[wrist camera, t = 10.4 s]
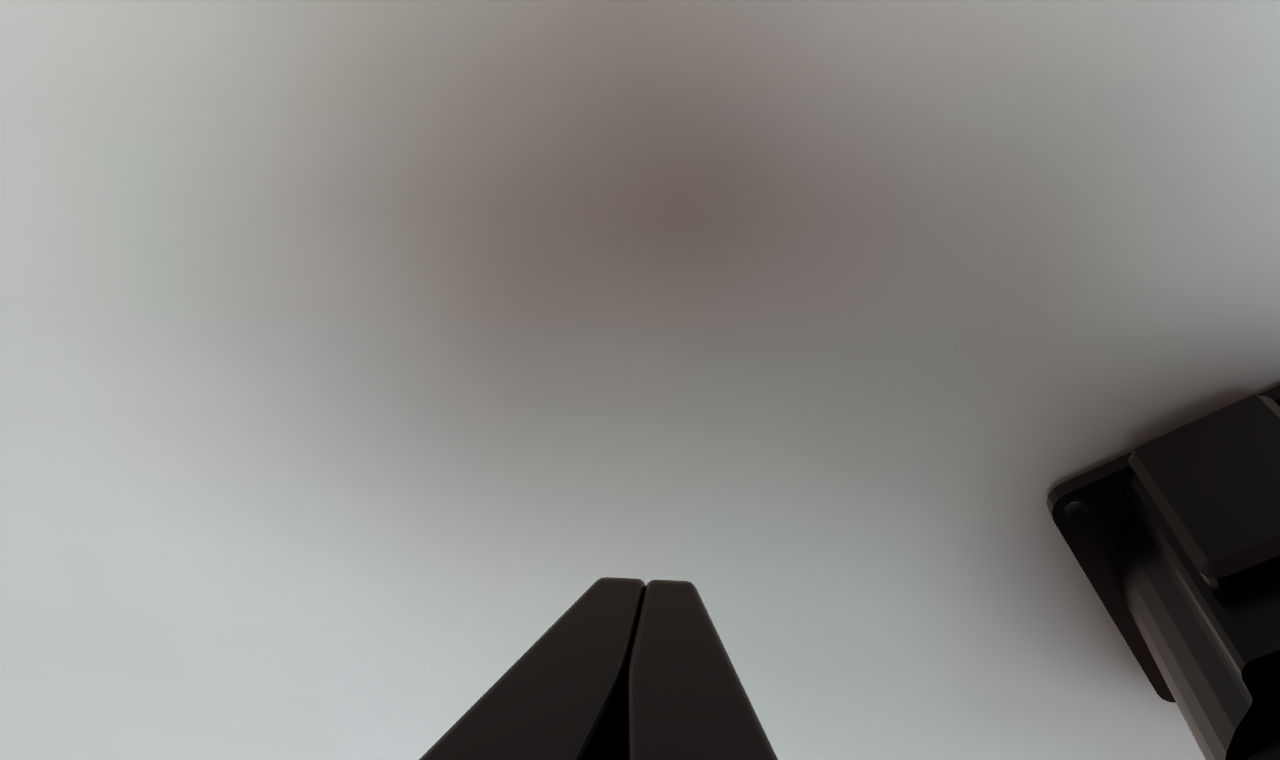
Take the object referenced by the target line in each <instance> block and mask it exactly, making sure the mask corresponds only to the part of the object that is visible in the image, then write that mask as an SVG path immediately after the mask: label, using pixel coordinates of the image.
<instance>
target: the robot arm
mask: <svg viewBox="0 0 1280 760" xmlns="http://www.w3.org/2000/svg"><path fill="white" fill-rule="evenodd" d="M1075 501H1081V502H1083V504H1082V506H1081V507H1079V508H1078V509H1077V510H1073V511H1067V510H1064V509H1065V507H1066V506H1067V505H1068V504H1070V503H1071V502H1075ZM1047 506H1048V509H1049V512H1050V514H1051V516H1052V518H1053V520H1054V522H1055V524H1056V526H1057V527H1058V529H1059V531H1060V532H1061V534H1062V536H1063V537H1064V539H1065V541H1066V542H1067V544H1068V546H1069V547H1070V549H1071V551H1072V552H1073V554H1074V556H1075V557H1076V559H1077V561H1078V562H1079V564H1080V566H1081V567H1082V569H1083V571H1084V572H1085V574H1086V576H1087V577H1088V579H1089V581H1090V582H1091V584H1092V586H1093V587H1094V589H1095V591H1096V592H1097V594H1098V596H1099V597H1100V599H1101V601H1102V602H1103V604H1104V606H1105V607H1106V609H1107V611H1108V612H1109V614H1110V616H1111V617H1112V619H1113V621H1114V622H1115V624H1116V626H1117V627H1118V629H1119V631H1120V632H1121V634H1122V636H1123V637H1124V639H1125V641H1126V642H1127V644H1128V646H1129V647H1130V649H1131V651H1132V652H1133V654H1134V656H1135V657H1136V659H1137V661H1138V662H1139V664H1140V666H1141V667H1142V669H1143V671H1144V672H1145V674H1146V676H1147V677H1148V679H1149V681H1150V682H1151V684H1152V686H1153V687H1154V689H1155V691H1156V692H1157V694H1158V695H1159V696H1160V697H1161V698H1162V699H1164V700H1166V701H1169V702H1176V703H1177V705H1178V707H1179V709H1180V711H1181V713H1182V715H1183V716H1184V718H1185V720H1186V722H1187V724H1188V726H1189V728H1190V730H1191V732H1192V734H1193V736H1194V738H1195V740H1196V742H1197V744H1198V746H1199V747H1200V749H1201V751H1202V753H1203V755H1204V757H1205V759H1206V760H1280V385H1279V386H1277V387H1275V388H1273V389H1270V390H1268V391H1266V392H1264V393H1262V394H1259V395H1253V396H1250V397H1247V398H1245V399H1243V400H1241V401H1238V402H1236V403H1234V404H1232V405H1230V406H1227V407H1225V408H1223V409H1221V410H1219V411H1216V412H1214V413H1212V414H1210V415H1207V416H1205V417H1203V418H1201V419H1199V420H1196V421H1194V422H1192V423H1190V424H1187V425H1185V426H1183V427H1181V428H1179V429H1176V430H1174V431H1172V432H1170V433H1168V434H1165V435H1163V436H1161V437H1159V438H1156V439H1154V440H1152V441H1150V442H1148V443H1145V444H1143V445H1141V446H1139V447H1137V448H1136V449H1135V450H1134V451H1133V452H1131V453H1128V454H1126V455H1124V456H1122V457H1120V458H1117V459H1115V460H1113V461H1111V462H1108V463H1106V464H1104V465H1102V466H1100V467H1097V468H1095V469H1093V470H1091V471H1088V472H1086V473H1084V474H1082V475H1080V476H1077V477H1075V478H1073V479H1071V480H1069V481H1066V482H1064V483H1062V484H1060V485H1059V486H1057V487H1056V488H1054V489H1053V490H1052V492H1051V493H1050V494H1049V496H1048V500H1047ZM419 760H778V759H777V757H776V755H775V753H774V751H773V749H772V747H771V744H770V742H769V740H768V738H767V736H766V734H765V732H764V730H763V728H762V726H761V723H760V721H759V719H758V717H757V715H756V713H755V711H754V709H753V707H752V705H751V703H750V700H749V698H748V696H747V694H746V692H745V690H744V688H743V686H742V684H741V682H740V679H739V677H738V675H737V673H736V671H735V669H734V667H733V665H732V663H731V661H730V658H729V656H728V654H727V652H726V650H725V648H724V646H723V644H722V642H721V640H720V638H719V635H718V633H717V631H716V629H715V627H714V625H713V623H712V621H711V619H710V617H709V614H708V612H707V610H706V608H705V606H704V604H703V602H702V600H701V598H700V596H699V593H698V591H697V589H696V588H695V586H694V585H693V584H692V583H691V582H688V581H671V580H652V581H650V582H649V583H648V584H647V585H645V583H644V582H643V581H642V580H640V579H629V578H609V577H606V578H601V579H599V580H597V581H596V582H595V583H594V584H593V585H592V586H591V587H590V588H589V589H588V590H587V591H586V592H585V593H584V594H583V595H582V596H581V597H580V598H579V599H578V600H577V601H576V602H575V603H574V604H573V605H572V606H571V607H570V608H569V609H568V610H567V611H566V612H565V613H564V614H563V615H562V616H561V617H560V618H559V619H558V620H557V621H556V622H555V623H554V624H553V625H552V626H551V627H550V628H549V629H548V630H547V631H546V632H545V633H544V634H543V636H542V637H541V638H540V639H539V640H538V641H537V642H536V643H535V644H534V645H533V646H532V647H531V648H530V649H529V650H528V651H527V652H526V653H525V654H524V655H523V656H522V657H521V658H520V659H519V660H518V661H517V662H516V663H515V664H514V665H513V666H512V667H511V668H510V669H509V670H508V671H507V672H506V673H505V674H504V675H503V676H502V677H501V678H500V679H499V680H498V681H497V682H496V683H495V684H494V685H493V686H492V687H491V688H490V689H489V690H488V691H487V692H486V693H485V694H484V695H483V696H482V697H481V698H480V699H479V700H478V701H477V702H476V703H475V704H474V705H473V706H472V707H471V708H470V709H469V710H468V711H467V712H466V713H465V714H464V715H463V716H462V717H461V718H460V719H459V720H458V721H457V722H456V723H455V724H454V725H453V726H452V727H451V728H450V729H449V730H448V731H447V732H446V733H445V734H444V735H443V736H442V737H441V738H440V739H439V740H438V741H437V742H436V743H435V744H434V745H433V746H432V747H431V748H430V749H429V750H428V751H427V752H426V753H425V754H424V755H423V756H422V757H421V758H420V759H419Z"/></svg>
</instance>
